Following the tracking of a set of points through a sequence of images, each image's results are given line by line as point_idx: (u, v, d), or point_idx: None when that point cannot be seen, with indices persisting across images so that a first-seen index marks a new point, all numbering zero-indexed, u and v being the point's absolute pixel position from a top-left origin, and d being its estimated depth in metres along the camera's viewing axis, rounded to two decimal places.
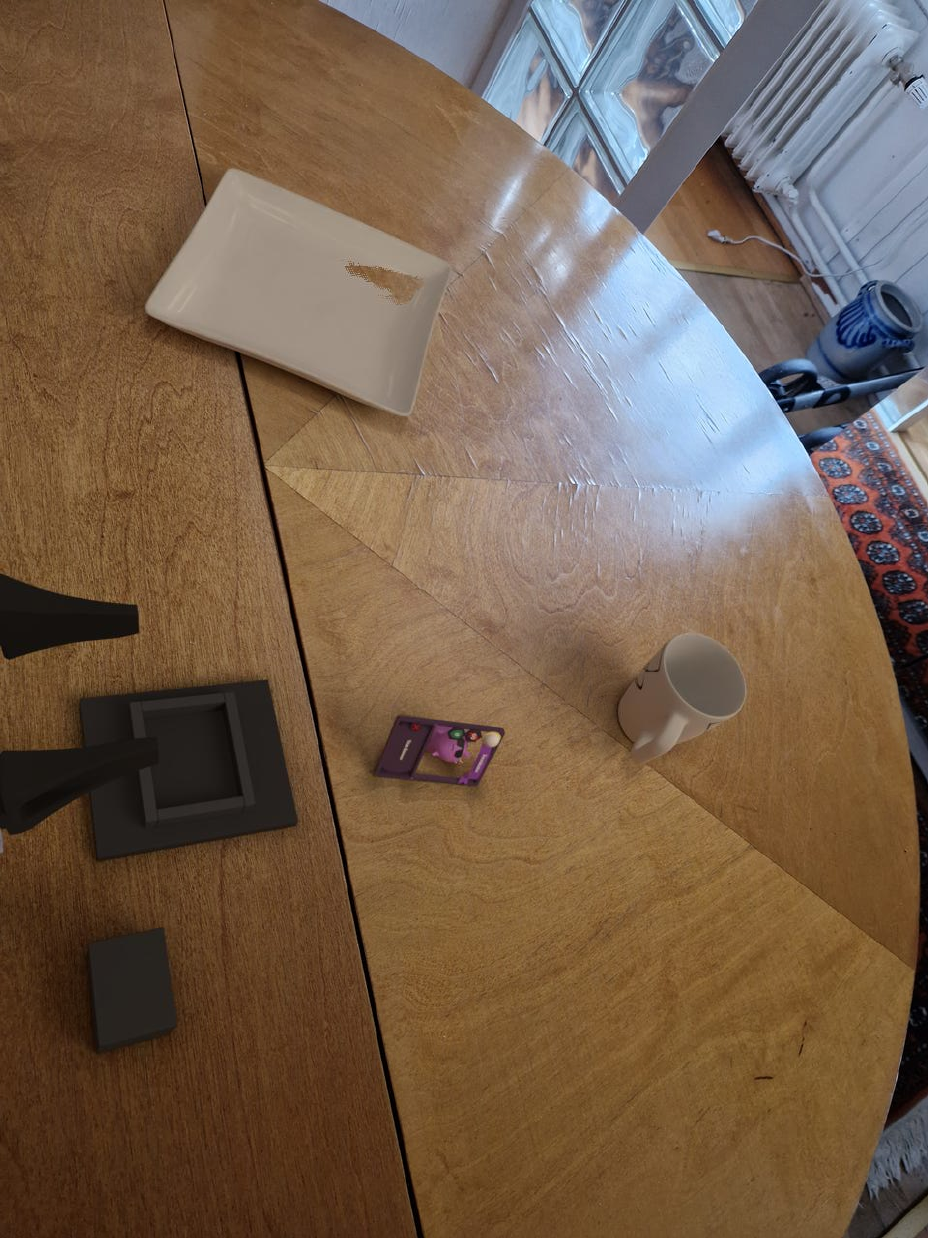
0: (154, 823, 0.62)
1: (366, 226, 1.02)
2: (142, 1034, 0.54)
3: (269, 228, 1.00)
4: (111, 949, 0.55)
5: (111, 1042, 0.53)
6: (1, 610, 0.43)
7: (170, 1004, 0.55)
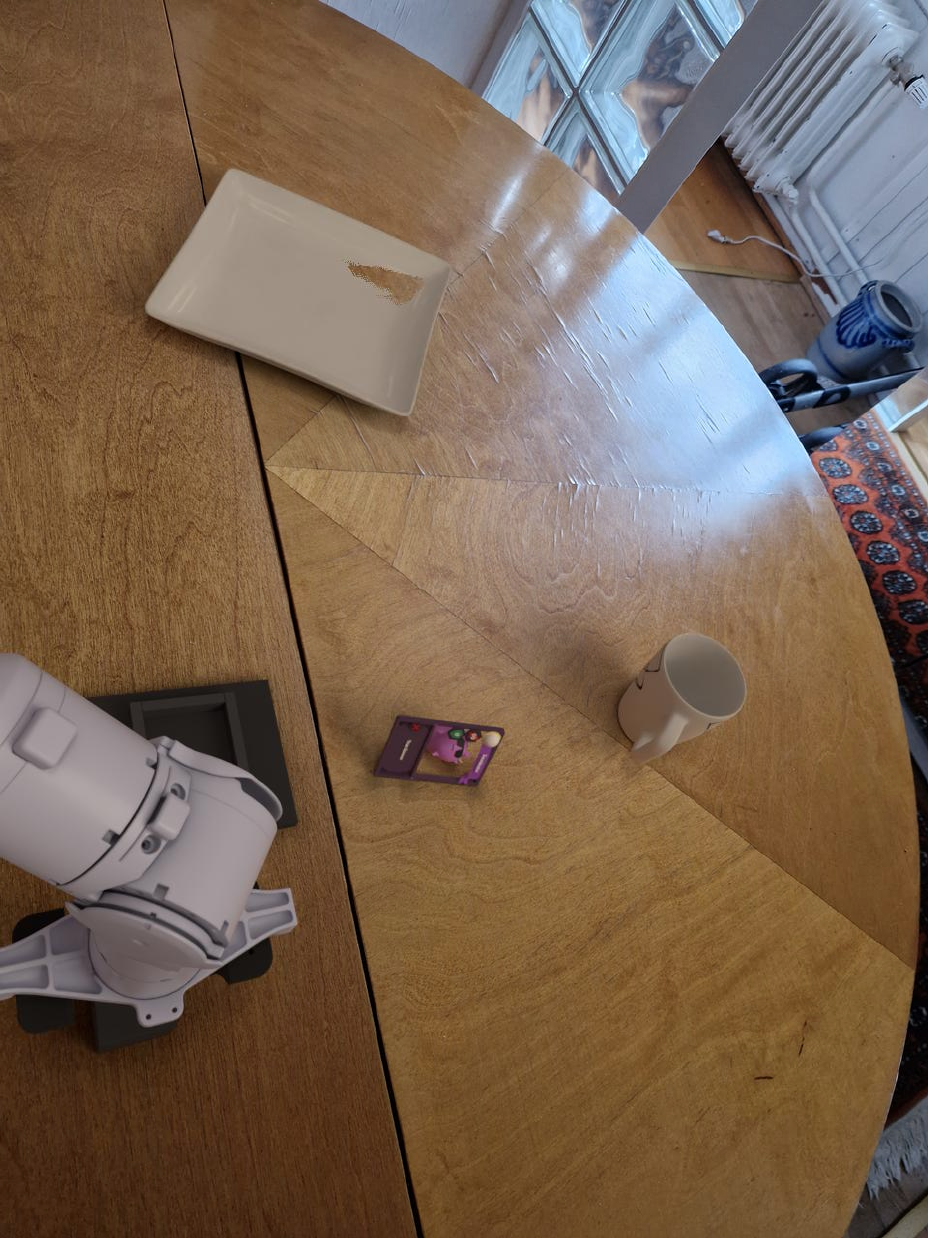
0: None
1: (366, 226, 1.02)
2: (142, 1034, 0.54)
3: (269, 228, 1.00)
4: None
5: (111, 1042, 0.53)
6: (226, 981, 0.47)
7: None
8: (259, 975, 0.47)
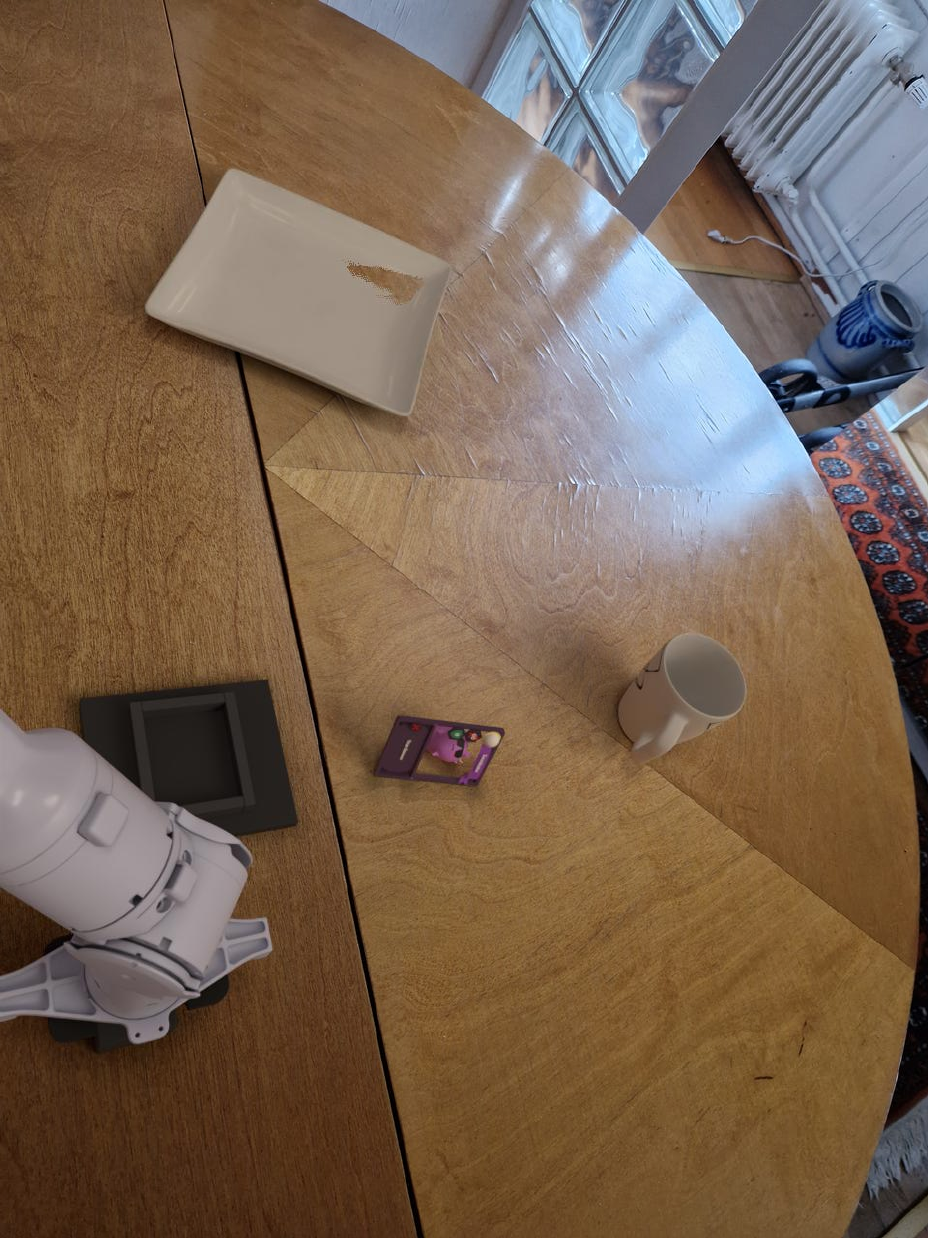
0: None
1: (366, 226, 1.02)
2: None
3: (269, 228, 1.00)
4: None
5: (111, 1042, 0.53)
6: (186, 1007, 0.52)
7: None
8: (216, 1002, 0.52)
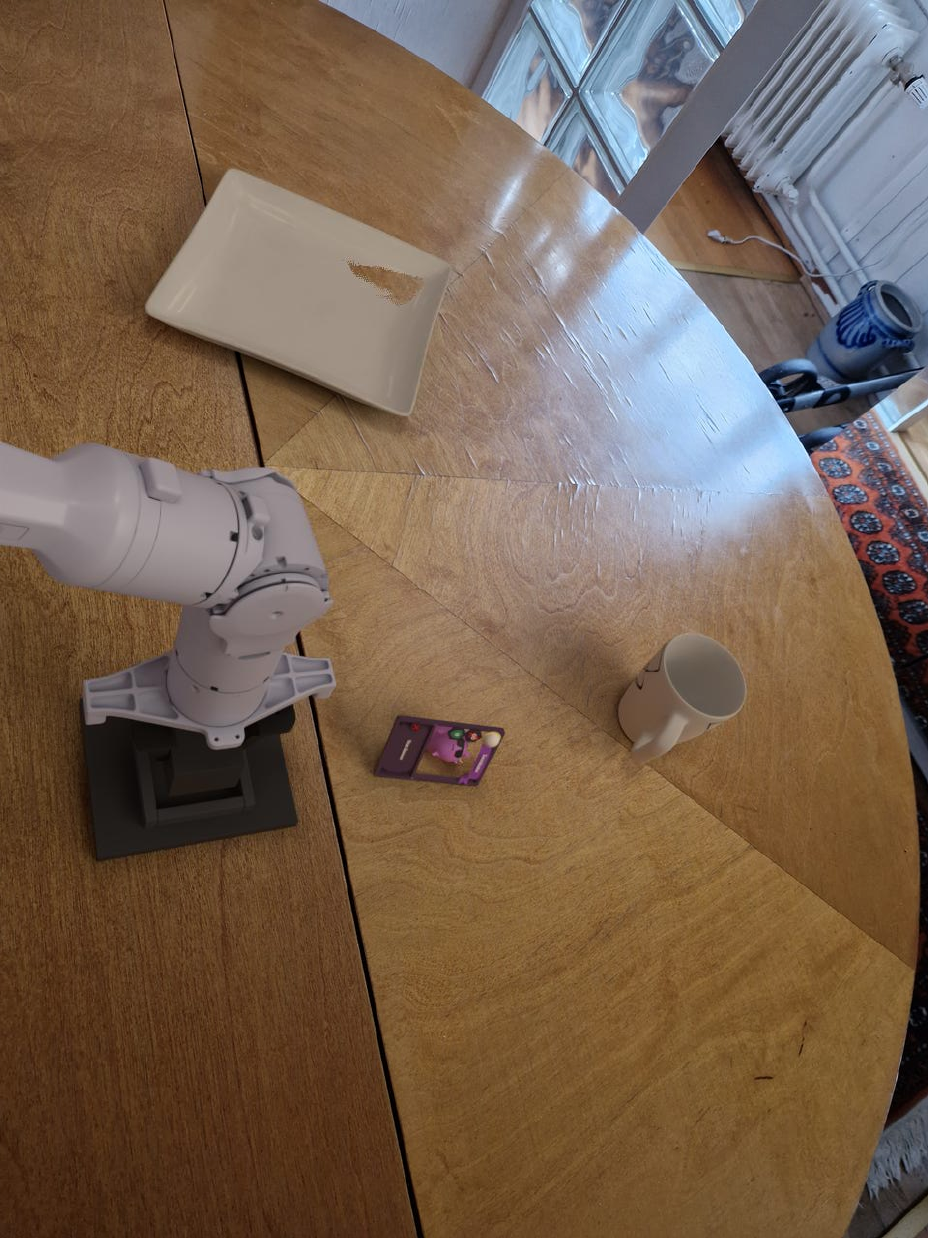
0: (154, 823, 0.62)
1: (366, 226, 1.02)
2: (213, 769, 0.57)
3: (269, 228, 1.00)
4: None
5: (185, 773, 0.56)
6: (256, 735, 0.55)
7: (238, 747, 0.58)
8: (284, 730, 0.55)
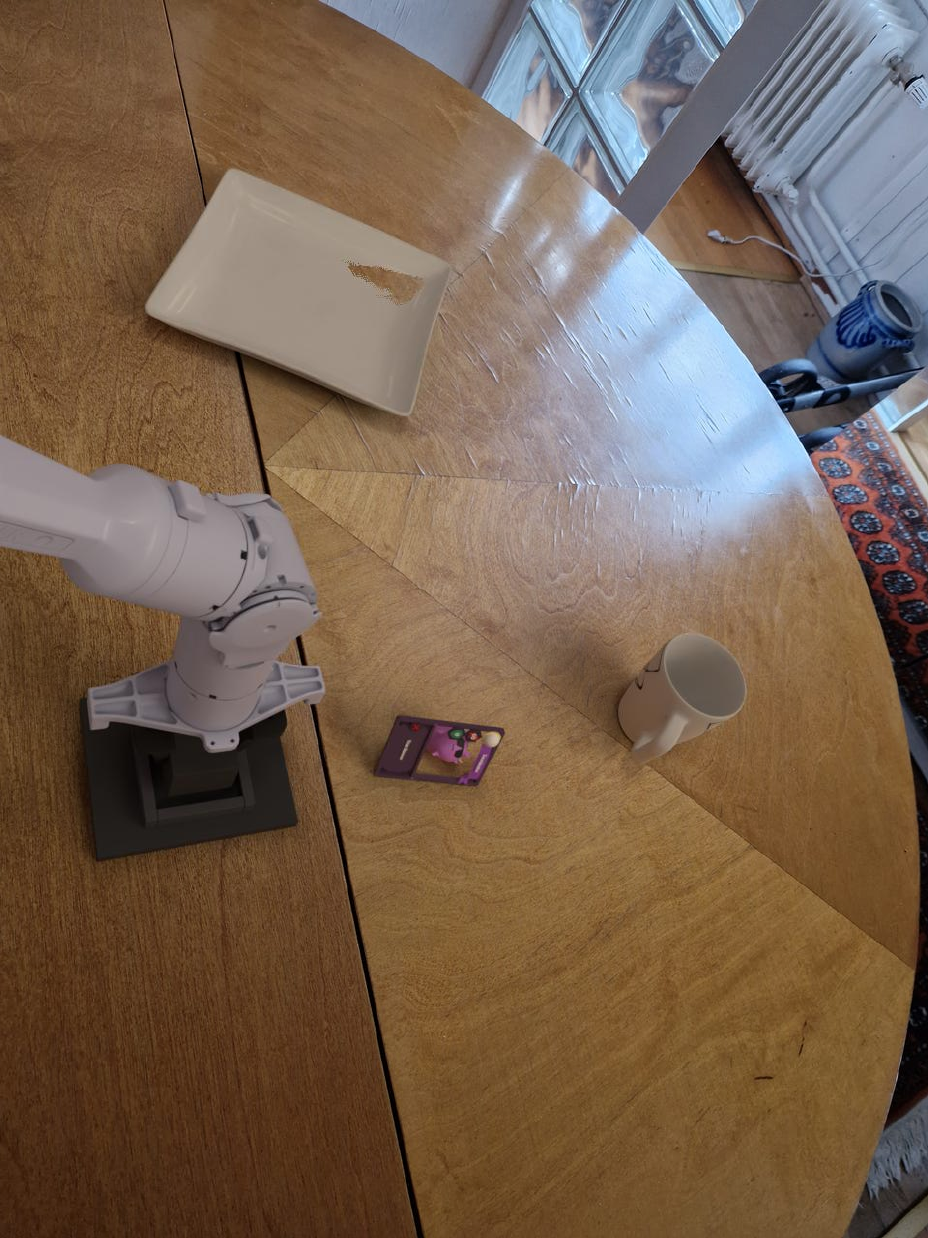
0: (154, 823, 0.62)
1: (366, 226, 1.02)
2: (210, 771, 0.61)
3: (269, 228, 1.00)
4: None
5: (183, 774, 0.60)
6: (250, 738, 0.59)
7: (233, 750, 0.62)
8: (276, 734, 0.59)
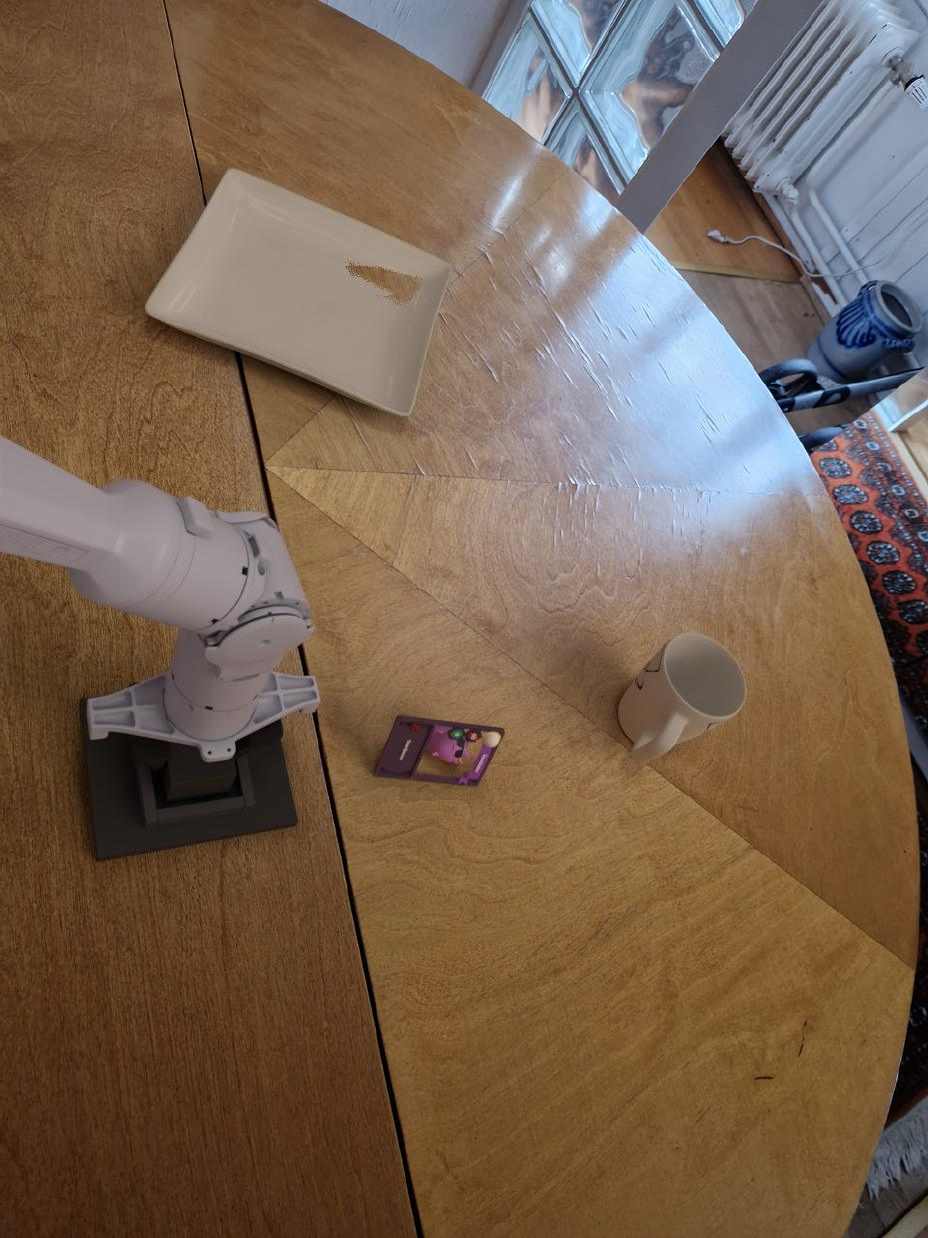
0: (154, 823, 0.62)
1: (366, 226, 1.02)
2: (207, 779, 0.62)
3: (269, 228, 1.00)
4: None
5: (181, 782, 0.61)
6: (247, 747, 0.60)
7: (230, 758, 0.63)
8: (272, 743, 0.60)
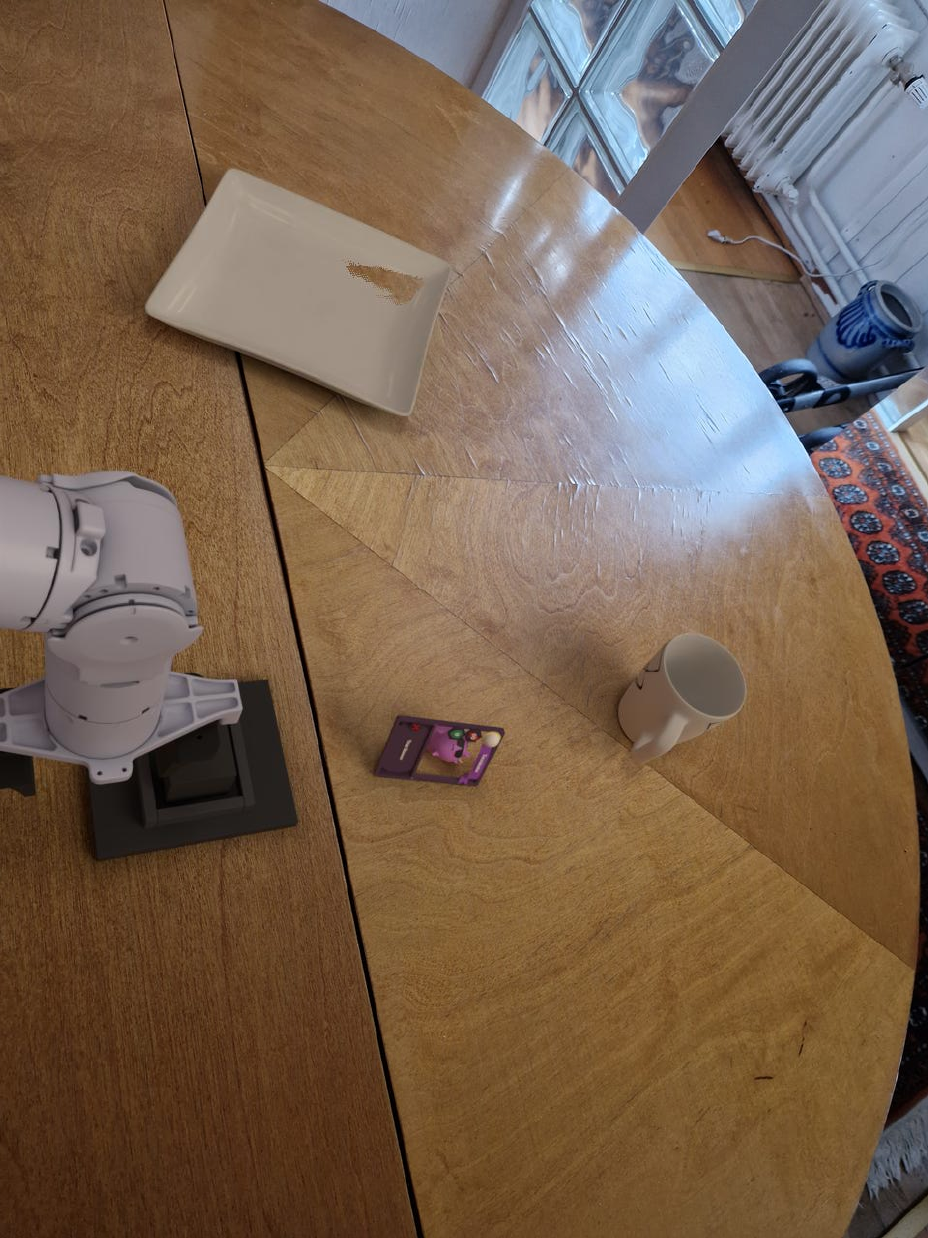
0: (154, 823, 0.62)
1: (366, 226, 1.02)
2: (206, 779, 0.62)
3: (269, 228, 1.00)
4: None
5: (181, 782, 0.61)
6: (176, 762, 0.51)
7: (230, 758, 0.63)
8: (207, 757, 0.51)
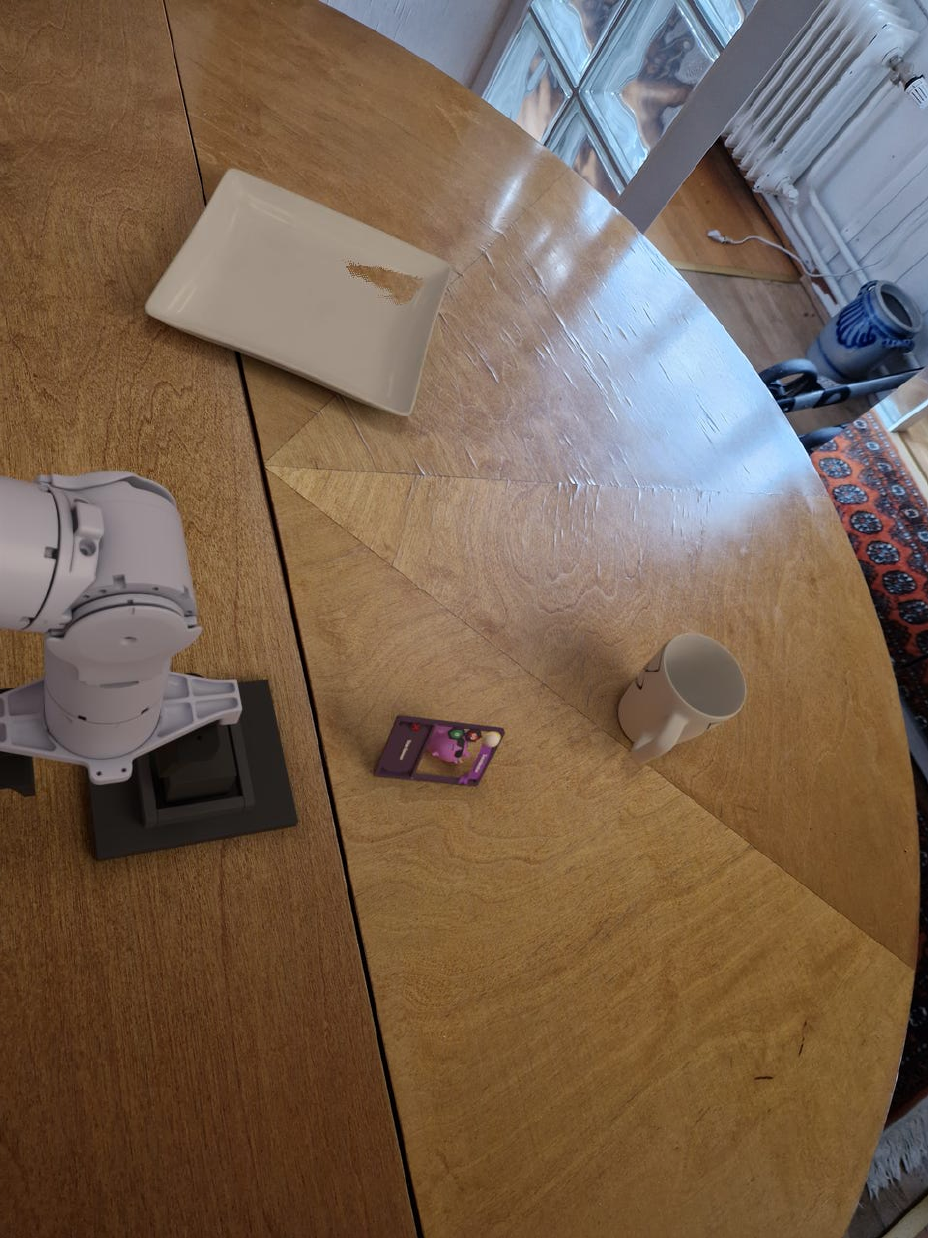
0: (154, 823, 0.62)
1: (366, 226, 1.02)
2: (206, 779, 0.62)
3: (269, 228, 1.00)
4: None
5: (181, 782, 0.61)
6: (176, 762, 0.51)
7: (230, 758, 0.63)
8: (206, 757, 0.51)
